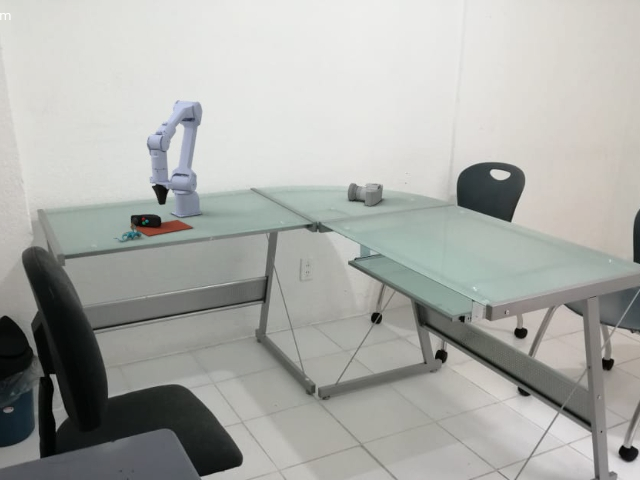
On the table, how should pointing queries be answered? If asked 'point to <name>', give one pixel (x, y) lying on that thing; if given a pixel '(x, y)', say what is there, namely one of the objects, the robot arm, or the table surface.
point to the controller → (146, 220)
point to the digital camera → (366, 193)
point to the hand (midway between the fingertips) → (162, 204)
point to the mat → (164, 228)
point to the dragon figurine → (131, 233)
